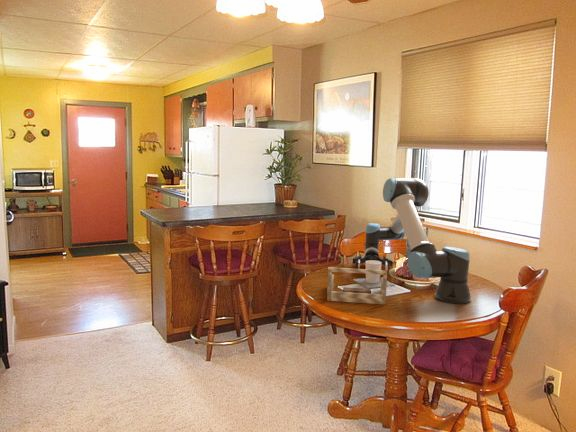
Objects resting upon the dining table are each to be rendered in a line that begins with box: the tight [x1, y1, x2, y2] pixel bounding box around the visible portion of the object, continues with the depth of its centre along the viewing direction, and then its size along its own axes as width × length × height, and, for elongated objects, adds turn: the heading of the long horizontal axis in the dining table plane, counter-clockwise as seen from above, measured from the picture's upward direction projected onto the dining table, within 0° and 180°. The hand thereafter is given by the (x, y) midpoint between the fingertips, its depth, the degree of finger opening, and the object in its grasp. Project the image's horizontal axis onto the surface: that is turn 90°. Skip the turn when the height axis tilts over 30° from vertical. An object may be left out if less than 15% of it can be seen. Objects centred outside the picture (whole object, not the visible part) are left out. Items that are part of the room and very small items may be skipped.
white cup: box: [365, 260, 382, 283], centre depth 237 cm, size 8×8×10 cm
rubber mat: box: [352, 277, 395, 289], centre depth 237 cm, size 15×15×1 cm
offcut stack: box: [338, 287, 372, 294], centre depth 212 cm, size 14×6×5 cm, turn 91°
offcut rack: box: [326, 266, 388, 305], centre depth 216 cm, size 25×21×15 cm
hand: (372, 266), depth 236 cm, fingers open, 13 cm apart
